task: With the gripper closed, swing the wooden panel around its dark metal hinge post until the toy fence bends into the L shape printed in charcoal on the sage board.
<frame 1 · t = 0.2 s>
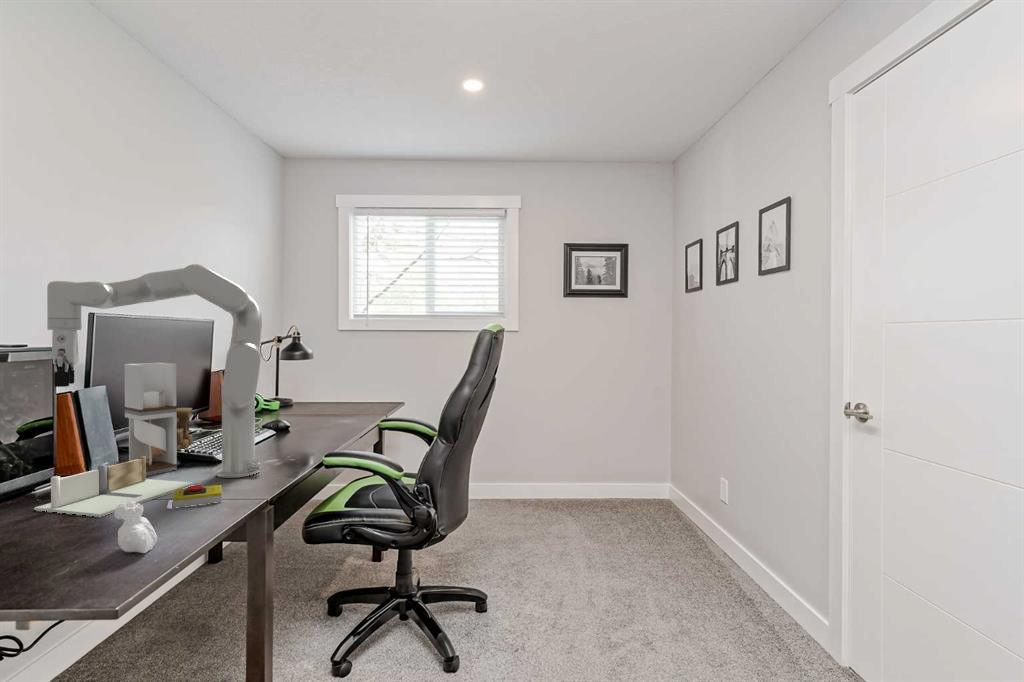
hand: (64, 385, 156), 30 cm above the table, tool pointing down, fingers open, 9 cm apart
white tied sack: (136, 550, 115), on the table
layout board: (120, 497, 151), on the table
fixed fence section: (102, 496, 152), resting on layout board
white wooden-base stand: (151, 471, 180), on the table
wooden panel: (126, 472, 159), point 5 cm above the table, hinge at 0.0°
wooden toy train: (173, 457, 201), on the table
emergency button: (199, 503, 148), on the table
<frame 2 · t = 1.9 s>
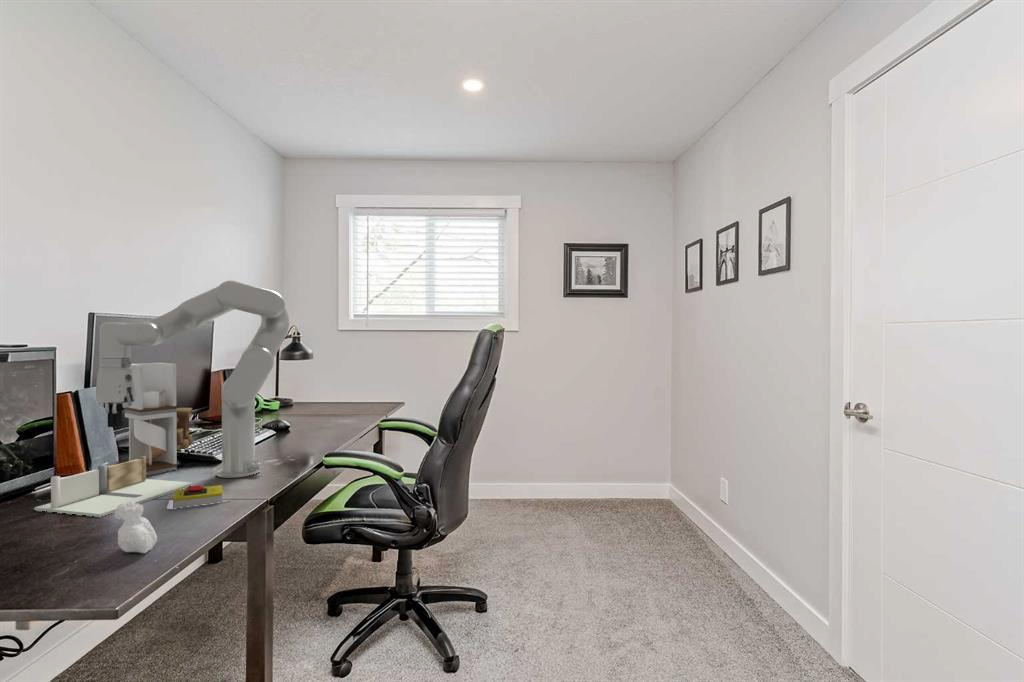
hand: (114, 426, 162), 18 cm above the table, tool pointing down, fingers closed
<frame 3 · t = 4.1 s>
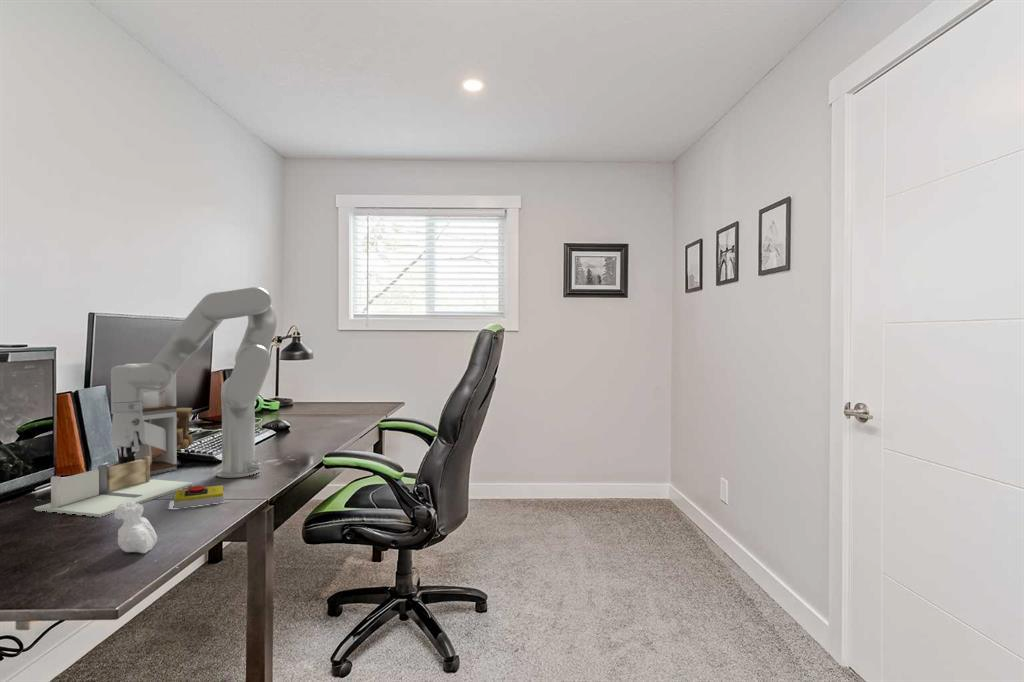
hand: (127, 469, 161), 5 cm above the table, tool pointing down, fingers closed
wooden panel: (129, 473, 159), point 5 cm above the table, hinge at -7.3°, touching gripper
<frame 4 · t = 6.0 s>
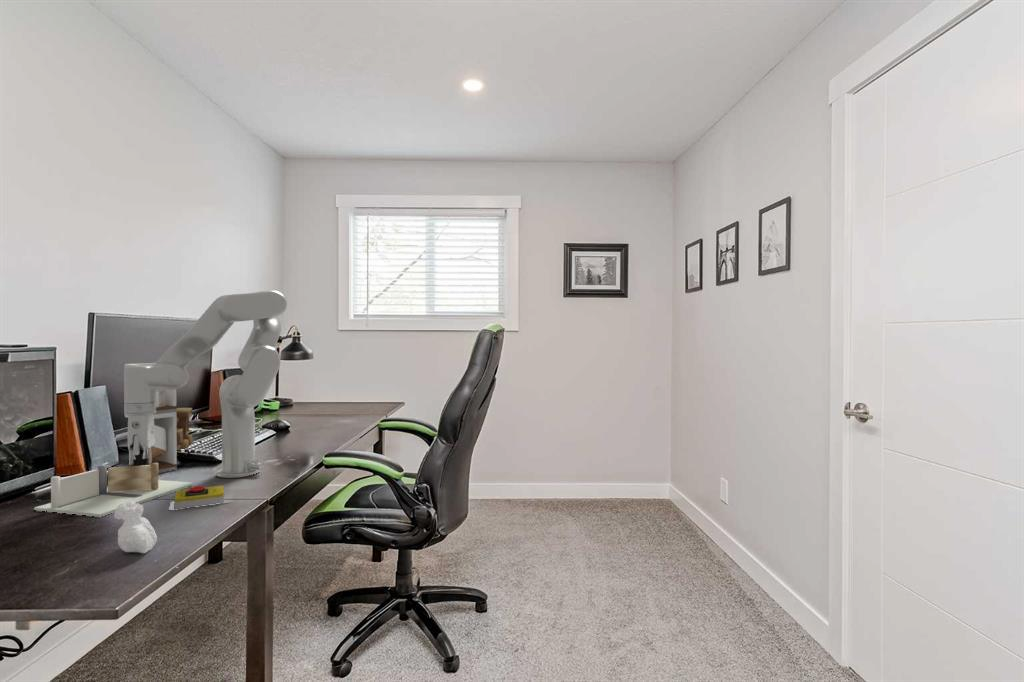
hand: (140, 472, 157), 5 cm above the table, tool pointing down, fingers closed
wooden panel: (133, 477, 154), point 5 cm above the table, hinge at -58.1°, touching gripper
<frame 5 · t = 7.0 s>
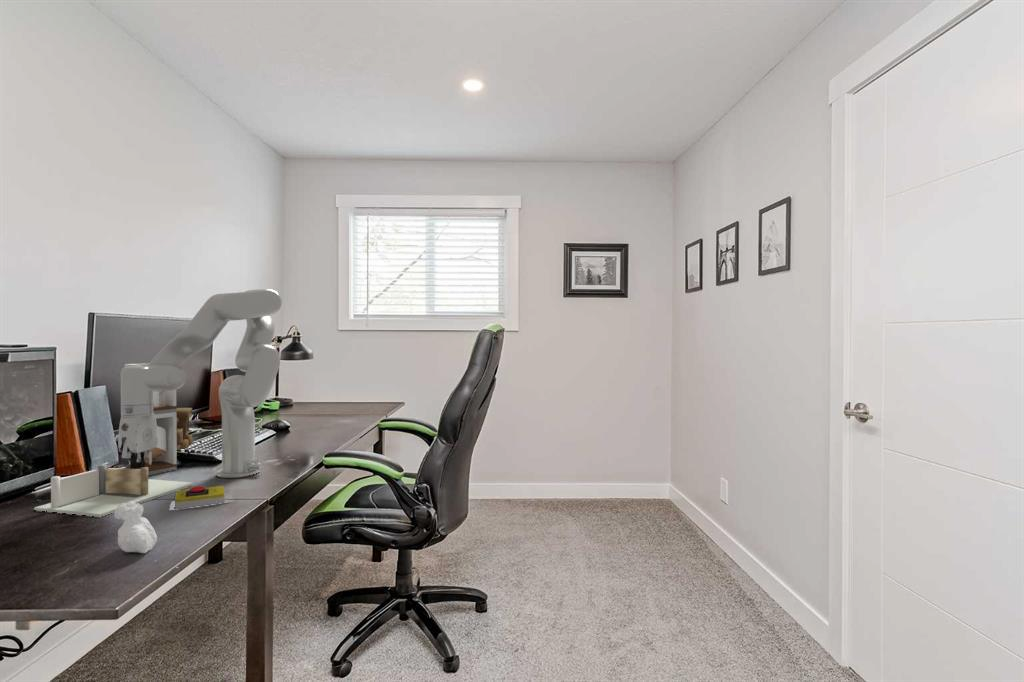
hand: (137, 475, 154), 5 cm above the table, tool pointing down, fingers closed
wooden panel: (127, 480, 151), point 5 cm above the table, hinge at -82.4°, touching gripper
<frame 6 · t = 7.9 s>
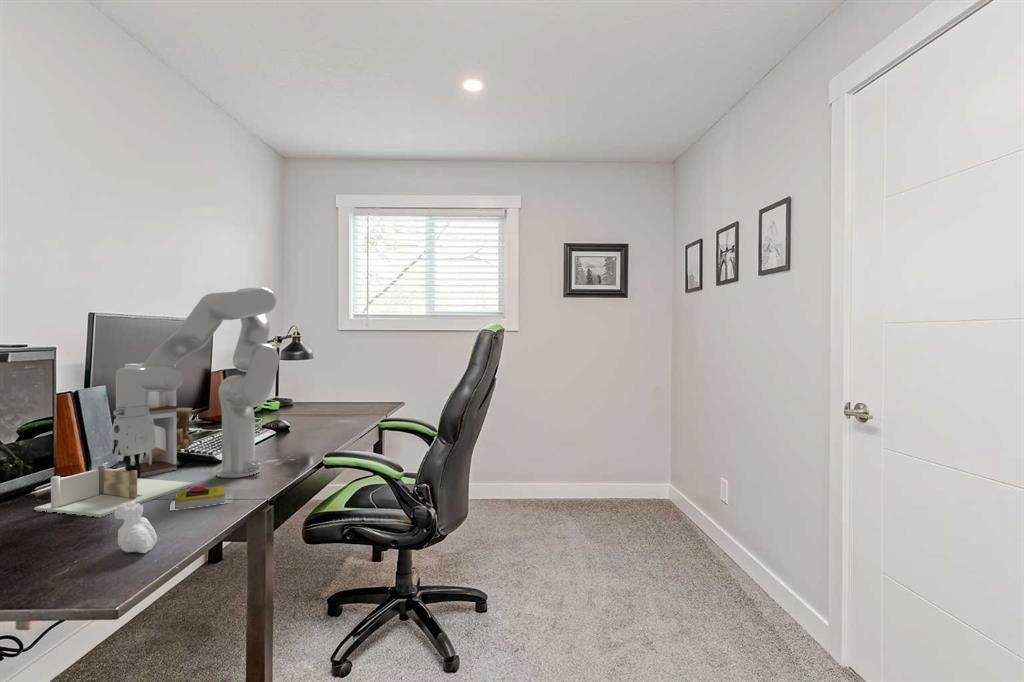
hand: (133, 478, 152), 5 cm above the table, tool pointing down, fingers closed
wooden panel: (120, 482, 149), point 5 cm above the table, hinge at -98.2°, touching gripper
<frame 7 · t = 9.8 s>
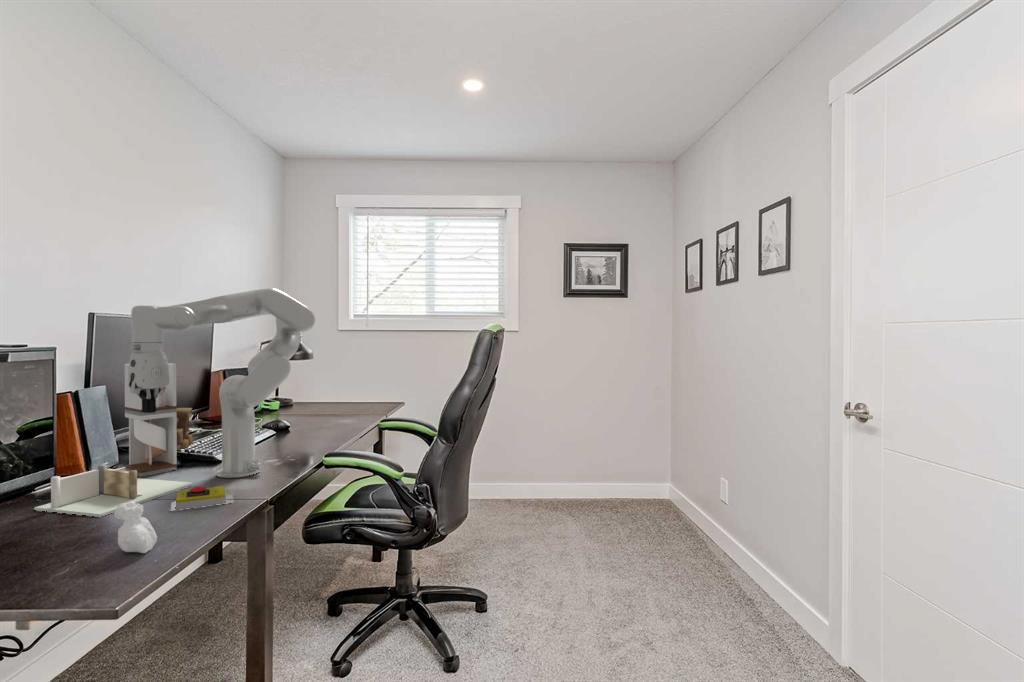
hand: (149, 412, 158), 22 cm above the table, tool pointing down, fingers closed
wooden panel: (120, 482, 149), point 5 cm above the table, hinge at -98.3°
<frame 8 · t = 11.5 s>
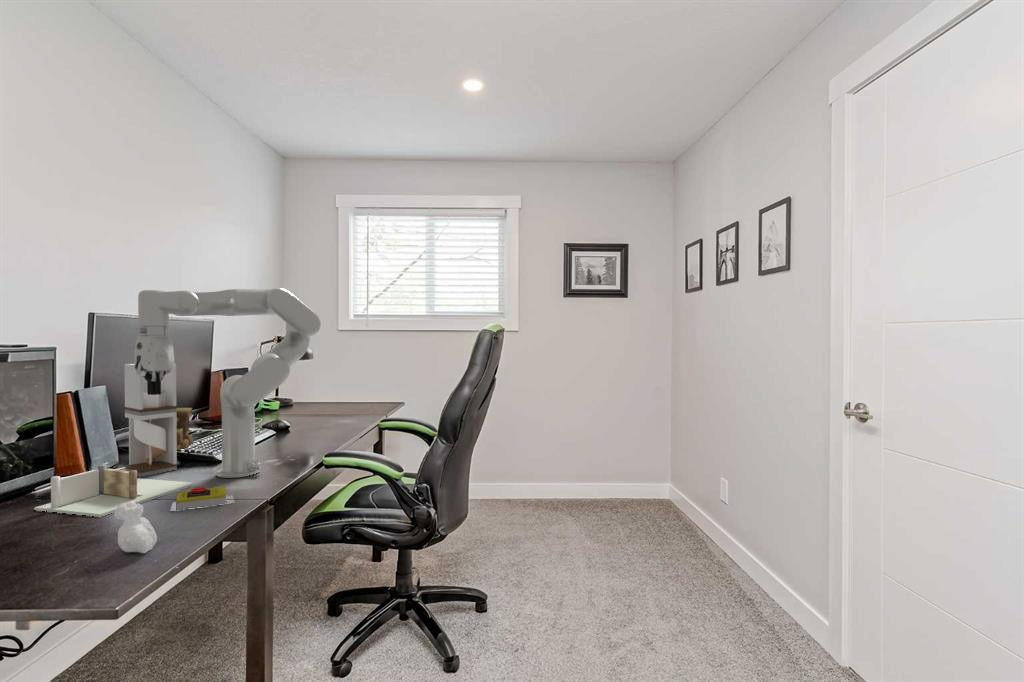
hand: (154, 394, 162), 27 cm above the table, tool pointing down, fingers closed
at the end: wooden panel at -98° (first picture: +0°); the gripper is holding nothing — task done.
